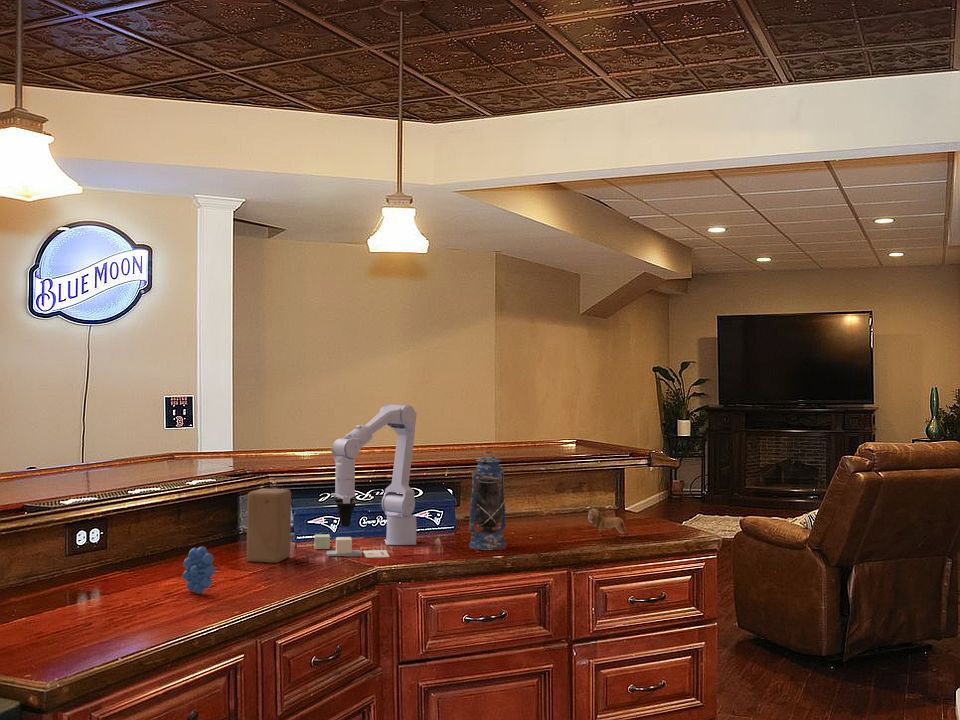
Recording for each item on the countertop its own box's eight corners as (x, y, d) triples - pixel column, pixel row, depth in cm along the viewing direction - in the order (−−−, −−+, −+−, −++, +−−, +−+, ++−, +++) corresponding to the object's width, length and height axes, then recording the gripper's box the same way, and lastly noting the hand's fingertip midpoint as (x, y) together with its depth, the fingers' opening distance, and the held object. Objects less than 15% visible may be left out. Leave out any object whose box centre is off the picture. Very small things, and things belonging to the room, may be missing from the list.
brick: (350, 550, 300) (351, 537, 300) (351, 553, 296) (351, 539, 296) (335, 550, 299) (335, 537, 299) (336, 553, 295) (336, 539, 295)
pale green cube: (329, 547, 310) (329, 534, 310) (329, 549, 305) (330, 536, 305) (314, 547, 309) (314, 534, 309) (314, 550, 304) (315, 537, 304)
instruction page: (385, 550, 304) (386, 549, 304) (389, 557, 295) (389, 556, 295) (362, 551, 303) (363, 550, 303) (365, 557, 293) (365, 556, 293)
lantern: (483, 553, 303) (484, 454, 302) (456, 547, 311) (457, 451, 311) (518, 547, 313) (520, 451, 313) (491, 541, 322) (492, 448, 322)
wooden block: (277, 564, 283) (278, 493, 283) (245, 562, 285) (246, 492, 285) (291, 557, 293) (292, 489, 293) (259, 555, 295) (260, 487, 295)
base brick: (359, 554, 301) (359, 549, 301) (361, 558, 296) (361, 553, 296) (326, 556, 299) (326, 551, 299) (327, 559, 294) (327, 554, 294)
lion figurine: (586, 536, 334) (586, 509, 334) (589, 533, 339) (590, 507, 339) (629, 539, 329) (629, 512, 329) (632, 537, 334) (633, 510, 334)
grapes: (227, 594, 247) (228, 546, 247) (204, 599, 241) (205, 550, 241) (198, 587, 254) (199, 540, 254) (175, 591, 249) (176, 543, 249)
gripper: (330, 475, 304) (329, 520, 304) (332, 482, 289) (332, 528, 290) (353, 475, 305) (353, 519, 305) (357, 481, 291) (356, 528, 291)
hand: (344, 524), depth 297 cm, fingers open, 7 cm apart
